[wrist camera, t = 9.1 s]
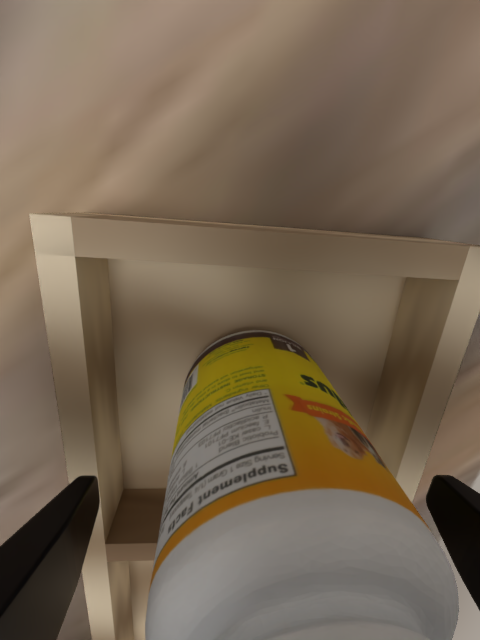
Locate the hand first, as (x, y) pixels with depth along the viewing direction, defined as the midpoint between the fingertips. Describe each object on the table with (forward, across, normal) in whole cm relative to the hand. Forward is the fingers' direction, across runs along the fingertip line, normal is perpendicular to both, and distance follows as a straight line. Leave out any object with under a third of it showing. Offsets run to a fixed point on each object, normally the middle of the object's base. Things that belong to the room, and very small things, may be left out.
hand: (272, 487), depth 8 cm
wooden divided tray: (+6, 0, +6) cm, 9 cm away
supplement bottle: (+5, 0, 0) cm, 5 cm away
